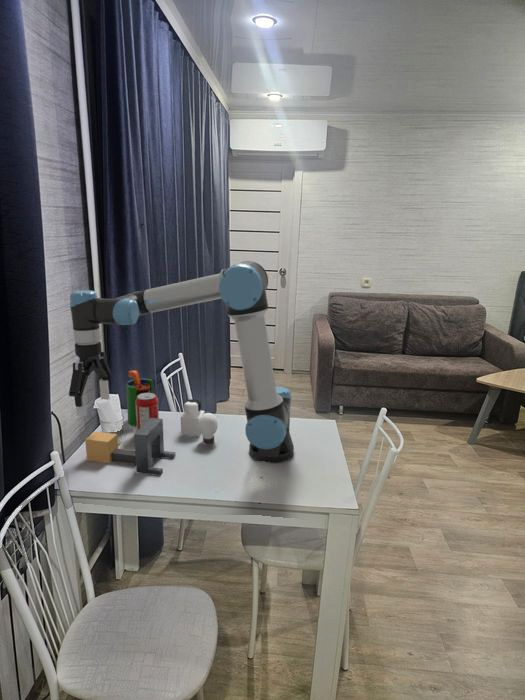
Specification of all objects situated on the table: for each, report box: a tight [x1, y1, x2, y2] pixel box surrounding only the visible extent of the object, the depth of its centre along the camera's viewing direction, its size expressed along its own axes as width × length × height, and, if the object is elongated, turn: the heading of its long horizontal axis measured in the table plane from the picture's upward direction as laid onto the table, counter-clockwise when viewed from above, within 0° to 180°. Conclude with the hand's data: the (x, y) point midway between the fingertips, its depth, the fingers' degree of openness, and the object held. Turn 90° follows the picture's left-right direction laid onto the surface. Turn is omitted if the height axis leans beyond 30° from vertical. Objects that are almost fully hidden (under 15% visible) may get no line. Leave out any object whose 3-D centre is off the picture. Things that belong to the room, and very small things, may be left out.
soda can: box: [135, 393, 160, 432], centre depth 159 cm, size 8×8×15 cm
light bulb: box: [198, 412, 219, 445], centre depth 155 cm, size 7×7×11 cm
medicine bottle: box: [180, 398, 206, 437], centre depth 162 cm, size 7×7×12 cm
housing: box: [133, 418, 177, 476], centre depth 139 cm, size 8×12×13 cm, turn 169°
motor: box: [125, 369, 154, 427], centre depth 169 cm, size 10×9×20 cm
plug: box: [84, 431, 136, 465], centre depth 142 cm, size 17×6×8 cm, turn 79°
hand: (94, 407), depth 140 cm, fingers open, 13 cm apart
